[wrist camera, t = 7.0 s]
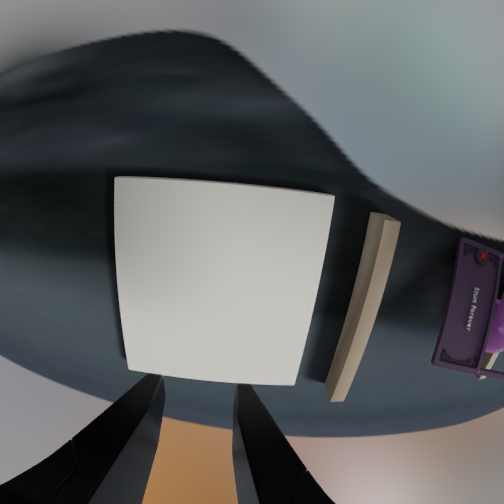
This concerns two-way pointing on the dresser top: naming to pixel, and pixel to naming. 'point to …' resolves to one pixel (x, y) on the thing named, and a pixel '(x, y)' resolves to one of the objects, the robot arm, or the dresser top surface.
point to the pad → (217, 276)
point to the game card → (472, 311)
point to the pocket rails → (368, 305)
